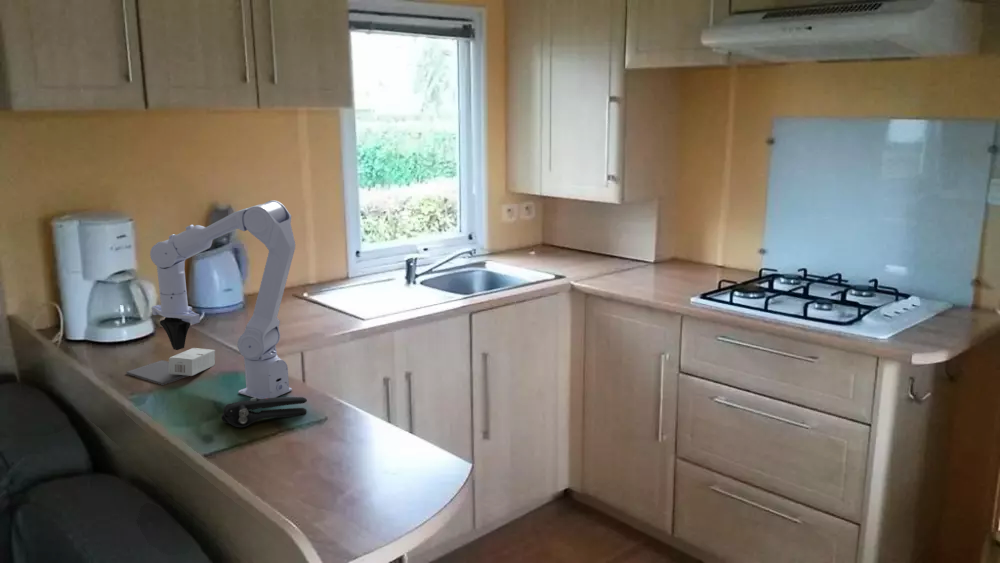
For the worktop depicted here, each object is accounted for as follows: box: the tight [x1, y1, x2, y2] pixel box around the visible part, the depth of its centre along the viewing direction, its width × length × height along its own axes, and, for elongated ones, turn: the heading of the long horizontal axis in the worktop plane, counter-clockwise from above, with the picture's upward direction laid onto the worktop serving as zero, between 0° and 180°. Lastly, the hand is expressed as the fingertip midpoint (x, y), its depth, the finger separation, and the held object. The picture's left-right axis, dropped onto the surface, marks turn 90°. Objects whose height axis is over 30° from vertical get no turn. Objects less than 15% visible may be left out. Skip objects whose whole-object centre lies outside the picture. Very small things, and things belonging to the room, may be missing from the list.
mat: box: [125, 359, 188, 386], centre depth 196 cm, size 14×10×1 cm
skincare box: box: [168, 347, 216, 377], centre depth 197 cm, size 6×4×12 cm
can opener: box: [220, 396, 308, 428], centre depth 169 cm, size 18×7×6 cm, turn 116°
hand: (178, 348), depth 186 cm, fingers closed
